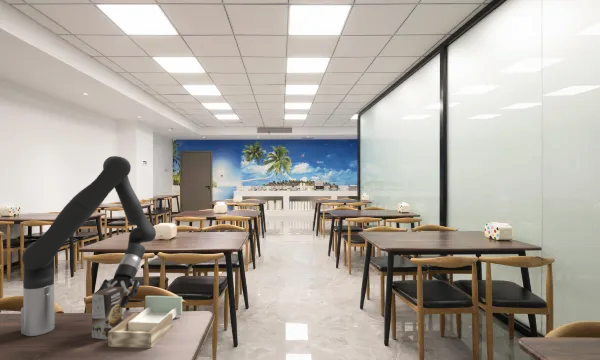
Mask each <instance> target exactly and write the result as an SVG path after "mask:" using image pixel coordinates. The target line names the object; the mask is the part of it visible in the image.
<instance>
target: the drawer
mask: <svg viewBox="0 0 600 360" xmlns="http://www.w3.org/2000/svg"><path fill="white" fill-rule="evenodd" d="M144 299H145V301H144V303H145V304H144V307H145V308H144V310H142V311H141V312H140V313H138V315H137V316H136V317H134V318H133V319H132V320H131V321H129V322H128V331H151V330H152V329H153V328H154V327H155V326H156V325H157V324H159V323H160V322H161V321H162V320H163V319H164V318H165V317H166V316H167V315H168V314H169V313H170V314H173V320H174V319H175V318H176V317H177V316H182V315H183V296H170V295H167V296H166V295H146V296H145V297H144ZM151 312H158V313H151ZM168 312H169V313H168Z"/></svg>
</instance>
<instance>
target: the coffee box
mask: <svg viewBox="0 0 600 360" xmlns="http://www.w3.org/2000/svg"><path fill="white" fill-rule="evenodd" d="M91 295H92V296H91V299H92V300H91V301H92V302H91V327H92V328H91V338H92V339H98V340H108V332H109V331H110V330H111V329H113V328H114V327H116V326H117V325H118V324H120V323H121V322H122V321H124V320H125V319H124V317H125V316H124V315H125V309H124V308H122V307H121V306H120V305H121V302H122V300H123V298H124V296H125V293H124V287H108V288H105V289H103V290H100V291H99V290H98V291H95V292H94V293H93V292H92V294H91Z"/></svg>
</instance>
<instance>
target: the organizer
mask: <svg viewBox="0 0 600 360" xmlns="http://www.w3.org/2000/svg"><path fill="white" fill-rule="evenodd" d="M138 314H139V313H138V312H133V313H132V314H131V315H129V316H128V317H126V318H125V319H124V321H122V322H121V323H120V324H118V325H117V326H116V327H114V328H113V329H111V330H110V331H109V332H108V339H107V345H108V346H107V347H114V348H115V347H116V348H138V349H139V348H143V349H144V348H145V349H152V348H153V346H155V345H156V344H157V343H158V342H159V341H160V340H161V339H162V338H163V336H165V335H166V334H167V332H169V331H170V330H171V328H173V322H174V321H173V320H174V319H173V314H170V313H169V314H168V315H167V316H166V317H165V318H164V319H163V320H162V321H161V322H160V323H159V324H157V325H156V326H155V327H154V328H153V329H152V330H151V331H128V322H129V321H131V320H132V319H133V318H134V317H136V316H137V315H138Z"/></svg>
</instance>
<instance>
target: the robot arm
mask: <svg viewBox="0 0 600 360" xmlns="http://www.w3.org/2000/svg"><path fill="white" fill-rule="evenodd" d="M131 168H132V166H131V163H130V161H129V160H128V159H126V158H125V157H122V156H119V155H118V156H117V155H112V156H109V157H107V158H106V159H105V160H104V162H103V165H102V170H101V172H100V173H99V175H97V177H96V178H95V179H94V180H93V181H92V182H91V183H90V184H88V185H87V186H86V187H84V188H83V189H81V190H80V191H78V193H77V194H75V195H74V196H73V197H72V198H71V199H70V200H69V202H68V203H66V205H65V206H64V207H63V208H62V210H61V211H60V212H59V213H58V215H57V216H56V218H54V221H52V224H51V225H50V226H49V227H48V229H47V230H46V231H45V232H44V233H43V234H42V235H41V236H40V237H39V238H38V239H37V240H36V241H35V242H33V243H29V245H28V246H27V247H26V248H25V250H24V251H23V253H22V256H21V261H22V264H23V282H22V283H23V285H22V287H23V288H22V290H23V293H22V294H23V300H22V302H23V306H22V307H21V309H20V334H21V335H24V336H25V335H26V337H34V336H35V337H36V336H41V335H44V334H47V333H50V332H52V331H53V330H54V329H55V326H56V325H55V256H56V255H57V253H58V252H59V251H60V250H61V248H62V247H63V246H64V245H65V243H66V242H67V240H68V239H69V238H71V237H72V236H73V235H74V234H75V233H76V232H77V231H78V230H79V229H80V228H81V227H82V226H83V225H84V224H85V223H86V222H87V221H88V220H89V219H90V217H92V215H93V214H94V213H95V212H96V211H97V209H98V208H99V207H100V206H101V204H102V203H103V202H104V201H105V199H106V198H107V197H108V195H109V194H110V193H111V192H112V190H114V189H115V192H116V193H117V196H118V199H119V202H120V204H121V206H122V210H123V212H124V215H125V217H126V219H127V221H128V223H129V225H134V226H137V227H134V228H132V230H130V232H129V237H128V243H127V248H126V251H125V252H124V255H123V256H122V259H121V260H120V261H119V264H118V266H117V269H116V270H115V273H114V275H113V278H112V279H111V280H108V279H104V280H103V281H102V284H101V285H100V287H99V289H98V291H100V290H103V289H105V288H108V287H124V298H123V300H122V302H121V305H120V306H121V307H122V308H126V307H127V306H128V303H129V300H130V299H131V298H136V296H137V294H138V292H139V288H140V285H141V284H140V282H139V280H138V279H136V276H137V273H138V271H139V268H140V266H141V262H142V260H143V257H144V255H145V252H146V248H145V246H144V245H142V244H143V243H149V242H150V243H151V242H152V241H154V240H155V238H156V235H157V234H156V233H157V232H156V229H155V227H154V225H153V224H152V222H151V221H150V220H149V219H148V217H147V216H146V214H145V213H144V212H145V211H144V209H143V207H142V204H141V202H140V199H139V198H138V197H137V196H138V195H136V193H135V190H134V189H133V187H132V185H131V182H130V179H129V174H130V172H131ZM141 243H142V244H141ZM130 287H132V288H131V290H130Z"/></svg>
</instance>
